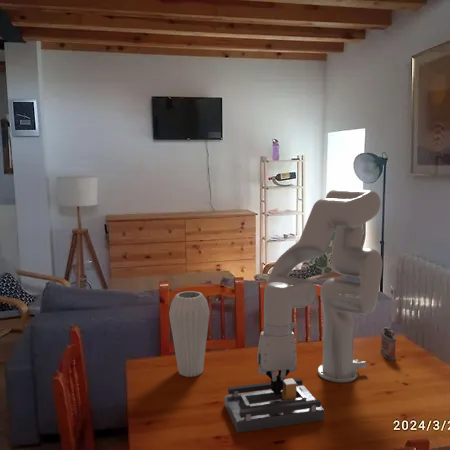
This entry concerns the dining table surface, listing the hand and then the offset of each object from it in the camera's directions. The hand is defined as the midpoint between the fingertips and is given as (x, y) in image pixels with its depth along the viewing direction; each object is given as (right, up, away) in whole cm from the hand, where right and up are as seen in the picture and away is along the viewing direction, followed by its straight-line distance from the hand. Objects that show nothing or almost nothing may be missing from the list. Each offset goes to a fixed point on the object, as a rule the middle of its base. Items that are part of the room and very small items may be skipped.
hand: (276, 392), depth 128 cm
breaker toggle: (+4, -2, +1) cm, 5 cm away
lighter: (+44, -1, +37) cm, 58 cm away
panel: (-1, -6, +1) cm, 6 cm away
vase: (-26, -3, +27) cm, 37 cm away
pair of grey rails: (-1, -3, 0) cm, 3 cm away
